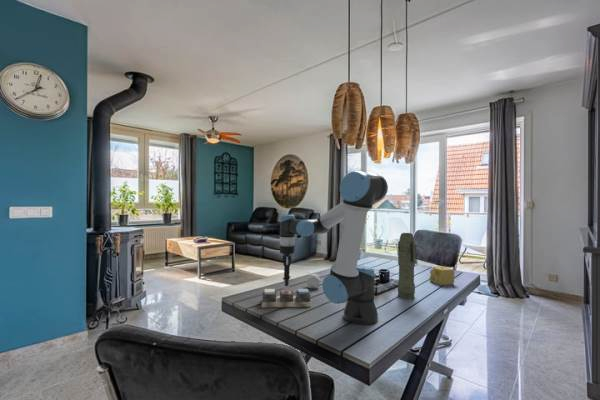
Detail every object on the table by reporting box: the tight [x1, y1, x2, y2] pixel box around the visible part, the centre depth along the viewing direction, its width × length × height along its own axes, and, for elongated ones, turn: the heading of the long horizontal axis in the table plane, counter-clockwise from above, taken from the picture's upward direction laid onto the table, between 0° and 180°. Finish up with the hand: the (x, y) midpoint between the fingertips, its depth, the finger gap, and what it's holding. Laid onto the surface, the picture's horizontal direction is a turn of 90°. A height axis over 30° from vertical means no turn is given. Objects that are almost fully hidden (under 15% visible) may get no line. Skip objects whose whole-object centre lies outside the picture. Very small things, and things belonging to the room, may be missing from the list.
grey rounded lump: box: [305, 273, 321, 289], centre depth 172 cm, size 8×9×10 cm
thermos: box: [397, 232, 417, 300], centre depth 158 cm, size 9×12×35 cm
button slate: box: [297, 288, 310, 294], centre depth 146 cm, size 5×5×3 cm
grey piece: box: [261, 289, 312, 308], centre depth 145 cm, size 24×10×6 cm, turn 94°
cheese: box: [429, 265, 455, 286], centre depth 186 cm, size 10×11×10 cm
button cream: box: [263, 288, 276, 294], centre depth 145 cm, size 5×5×3 cm
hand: (286, 291), depth 145 cm, fingers closed
